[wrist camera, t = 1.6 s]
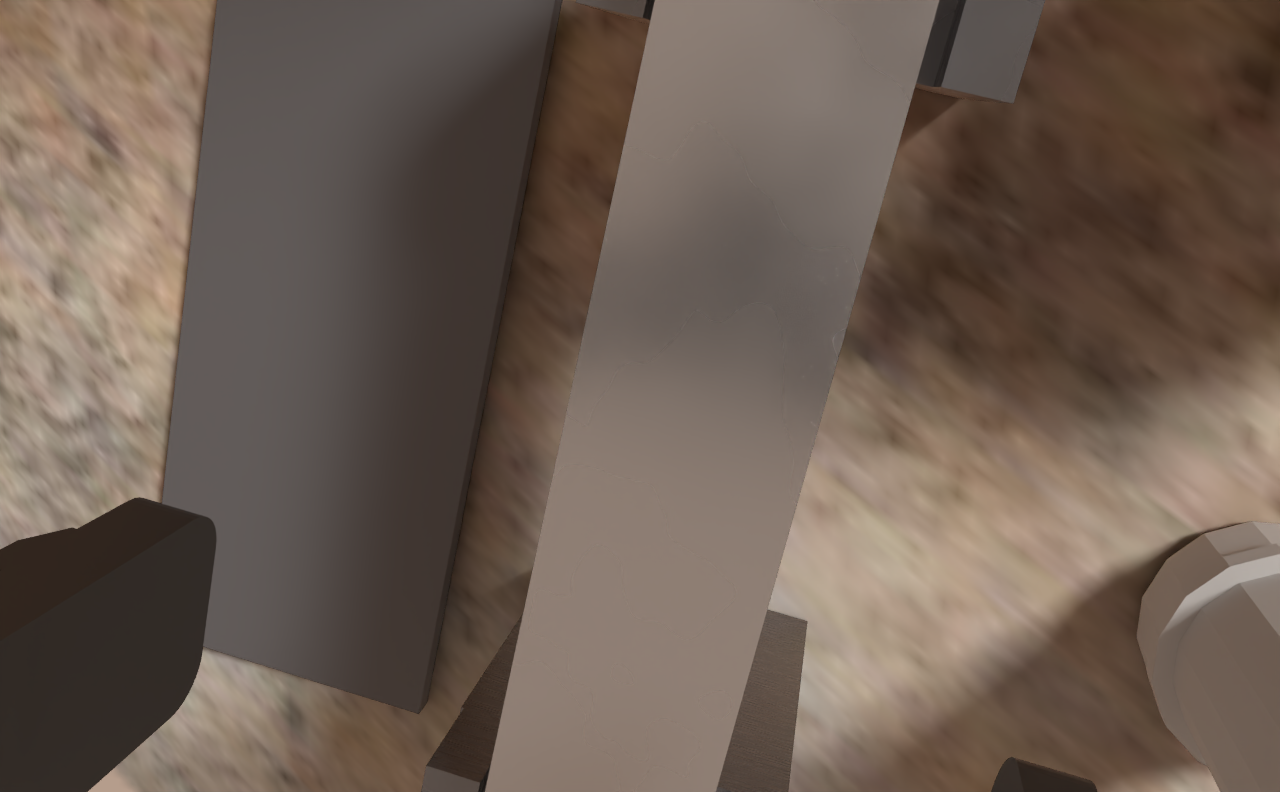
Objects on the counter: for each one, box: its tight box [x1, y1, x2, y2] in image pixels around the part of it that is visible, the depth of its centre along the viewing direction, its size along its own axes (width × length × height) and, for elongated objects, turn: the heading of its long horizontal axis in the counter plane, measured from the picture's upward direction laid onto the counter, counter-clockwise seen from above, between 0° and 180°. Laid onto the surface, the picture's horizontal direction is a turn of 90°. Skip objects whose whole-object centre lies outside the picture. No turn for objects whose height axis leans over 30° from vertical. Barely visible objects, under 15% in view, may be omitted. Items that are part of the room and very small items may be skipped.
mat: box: [162, 0, 562, 714], centre depth 29 cm, size 24×8×1 cm, turn 167°
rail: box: [485, 0, 939, 792], centre depth 18 cm, size 22×4×4 cm, turn 167°
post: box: [421, 610, 807, 792], centre depth 25 cm, size 3×6×10 cm, turn 77°
